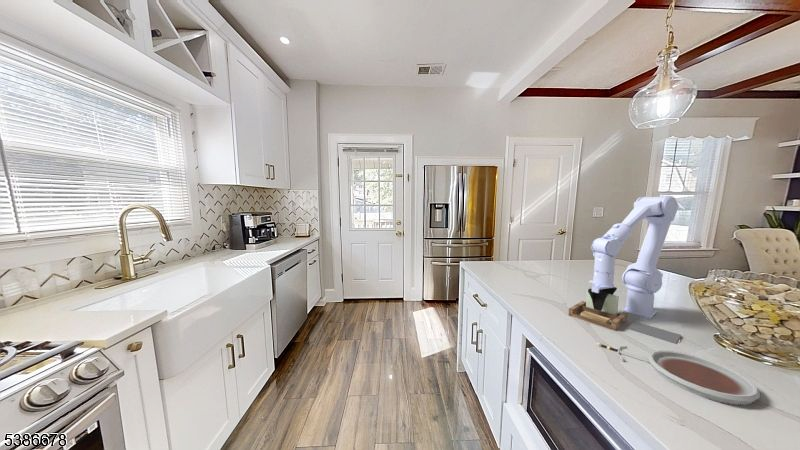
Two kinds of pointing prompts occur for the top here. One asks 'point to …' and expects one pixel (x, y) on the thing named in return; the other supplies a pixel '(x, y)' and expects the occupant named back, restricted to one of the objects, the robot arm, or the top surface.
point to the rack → (615, 319)
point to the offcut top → (595, 317)
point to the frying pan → (699, 376)
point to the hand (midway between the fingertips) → (601, 307)
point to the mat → (655, 332)
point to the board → (605, 303)
